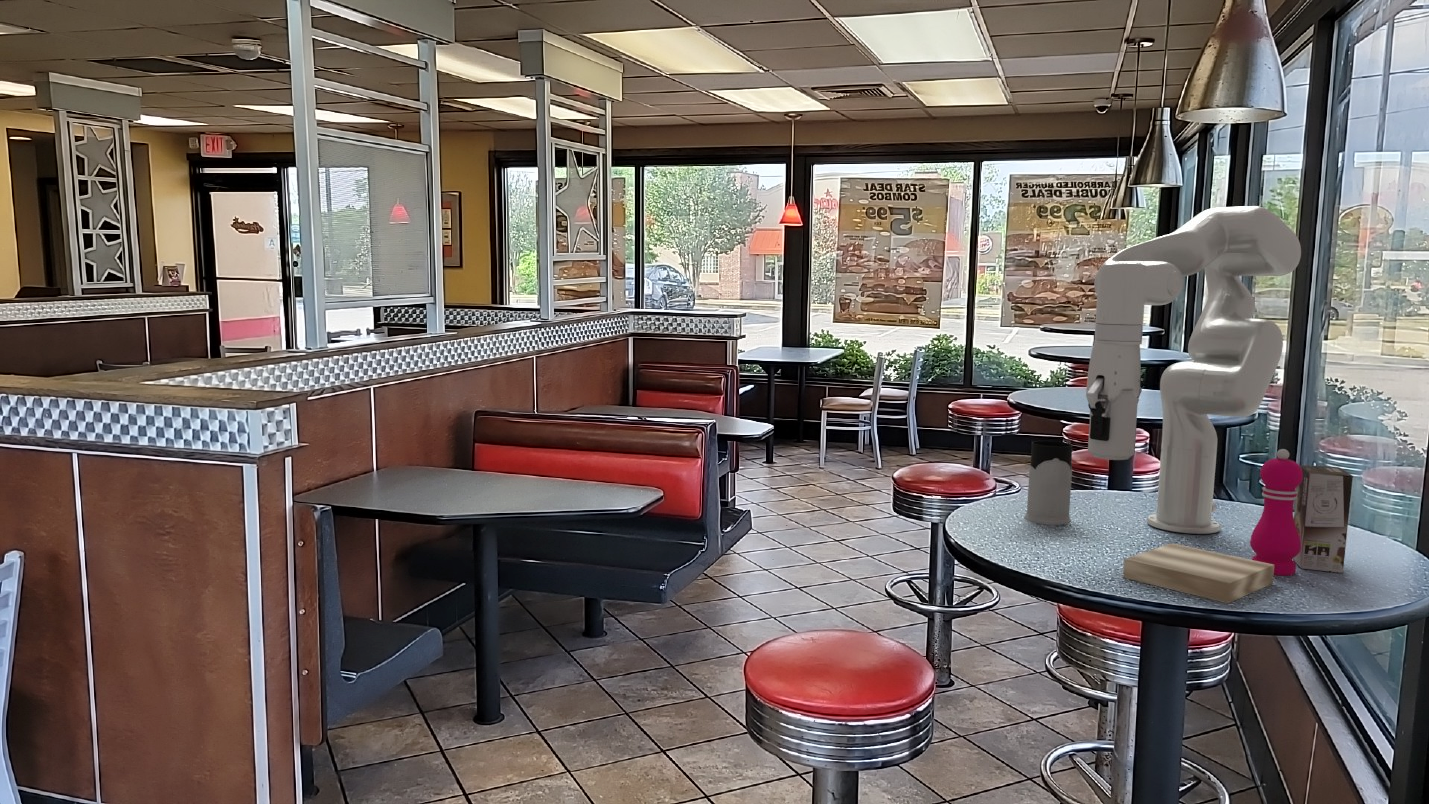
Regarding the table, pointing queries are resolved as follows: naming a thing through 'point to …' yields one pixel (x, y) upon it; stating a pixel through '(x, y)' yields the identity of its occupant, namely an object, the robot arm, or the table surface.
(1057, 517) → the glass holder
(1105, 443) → the can
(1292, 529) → the pepper mill
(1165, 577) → the plinth
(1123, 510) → the table surface
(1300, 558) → the coffee box
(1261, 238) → the robot arm
